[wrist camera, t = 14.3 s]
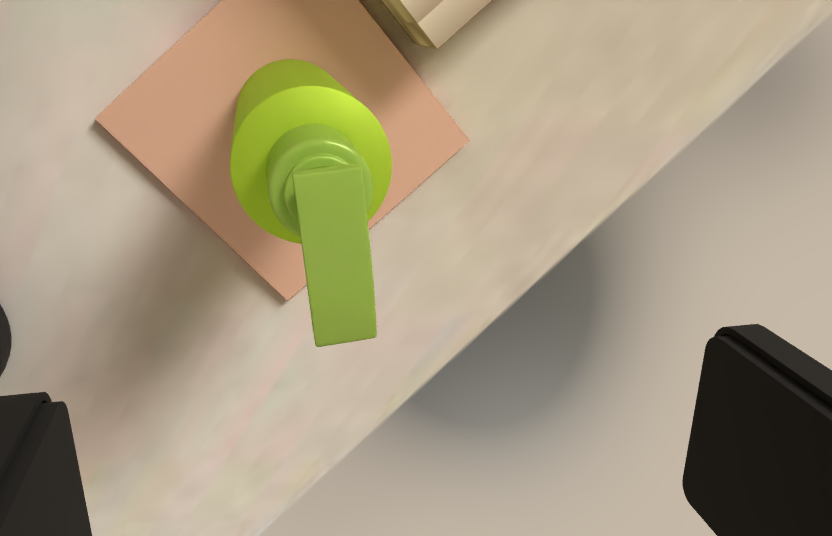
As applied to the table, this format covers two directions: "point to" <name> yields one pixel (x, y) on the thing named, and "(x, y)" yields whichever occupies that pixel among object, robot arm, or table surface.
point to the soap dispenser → (314, 185)
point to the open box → (433, 18)
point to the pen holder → (4, 340)
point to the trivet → (217, 99)
